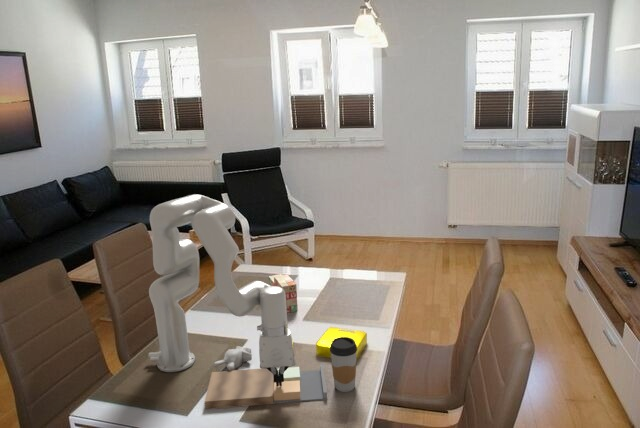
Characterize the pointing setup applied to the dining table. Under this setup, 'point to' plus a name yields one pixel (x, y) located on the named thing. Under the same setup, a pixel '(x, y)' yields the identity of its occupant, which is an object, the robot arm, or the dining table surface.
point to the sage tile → (291, 374)
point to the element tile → (334, 333)
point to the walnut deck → (240, 388)
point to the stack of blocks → (286, 290)
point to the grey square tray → (310, 386)
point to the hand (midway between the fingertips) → (279, 383)
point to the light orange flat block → (287, 391)
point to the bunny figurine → (235, 357)
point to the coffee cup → (343, 363)
